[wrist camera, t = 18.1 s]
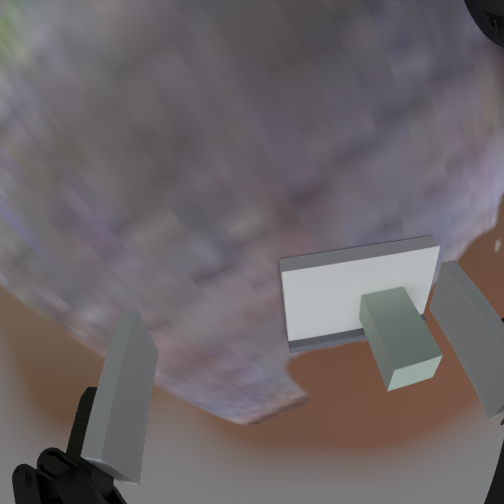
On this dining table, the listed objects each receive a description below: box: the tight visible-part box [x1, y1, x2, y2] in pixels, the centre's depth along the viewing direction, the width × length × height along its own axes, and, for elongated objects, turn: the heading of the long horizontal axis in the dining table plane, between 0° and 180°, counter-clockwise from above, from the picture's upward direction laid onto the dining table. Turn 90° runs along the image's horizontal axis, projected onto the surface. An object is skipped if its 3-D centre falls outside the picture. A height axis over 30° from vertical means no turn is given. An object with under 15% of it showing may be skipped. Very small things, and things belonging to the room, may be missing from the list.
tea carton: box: [359, 286, 443, 391], centre depth 40 cm, size 5×7×14 cm
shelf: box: [279, 236, 440, 353], centre depth 46 cm, size 24×16×4 cm, turn 98°
